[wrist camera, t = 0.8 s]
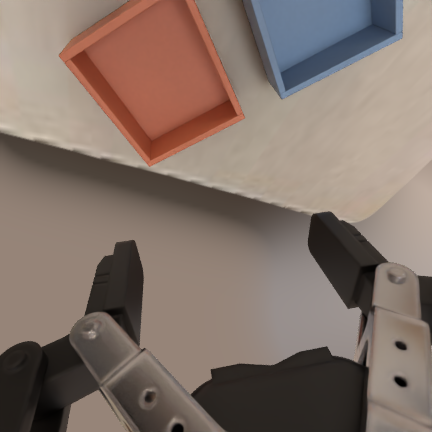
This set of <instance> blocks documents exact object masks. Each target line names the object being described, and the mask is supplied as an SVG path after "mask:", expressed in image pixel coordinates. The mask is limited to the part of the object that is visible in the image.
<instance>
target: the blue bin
mask: <svg viewBox="0 0 432 432" xmlns="http://www.w3.org/2000/svg"><path fill="white" fill-rule="evenodd" d="M242 2H243V5H244V8H245V11H246V14H247V17H248V20H249V23H250V26H251V29H252V32H253V35H254V38H255V41H256V44H257V47H258V50H259V53H260V56H261V59H262V62H263V65H264V68H265V71H266V74H267V77H268V80H269V82H270V84H271V85H272V87H273V88H274V89H275V91H276V92H277V94H278V95H279V96H280V98H281V99H284V98H286V97H288V96H290V95H292V94H293V93H295V92H297V91H299V90H301V89H303V88H305V87H307V86H309V85H311V84H313V83H315V82H317V81H319V80H321V79H323V78H325V77H327V76H329V75H331V74H333V73H335V72H337V71H339V70H341V69H343V68H345V67H347V66H349V65H351V64H353V63H354V62H356V61H358V60H360V59H362V58H364V57H366V56H368V55H370V54H372V53H374V52H376V51H378V50H380V49H382V48H384V47H386V46H388V45H390V44H392V43H394V42H396V41H398V40H400V39H402V34H403V32H402V31H403V0H242Z"/></svg>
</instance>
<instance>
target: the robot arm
mask: <svg viewBox="0 0 432 432" xmlns="http://www.w3.org/2000/svg"><path fill="white" fill-rule="evenodd" d="M308 247H309V250H310V253H311V254H312V256H313V257H314V258H315V260H316V262H317V263H318V265H319V266H320V268H321V269H322V271H323V272H324V274H325V275H326V276H327V278H328V279H329V281H330V283H331V284H332V285H333V287H334V289H335V290H336V291H337V293H338V294H339V296H340V297H341V299H342V300H343V302H344V303H345V305H346V306H347V308H348V309H350V308H355V307H359V308H360V309H361V311H362V312H361V315H360V320H359V327H358V335H357V342H356V349H355V355H354V360H353V361H352V360H350V359H346V358H343V357H338V356H332V355H331V353H330V351H329V349H328V347H322V348H317V349H312V350H306V351H301V352H299V353H296V354H295V355H292V356H291V357H289V358H287V359H285V360H283V361H281V362H279V363H277V364H275V365H271V366H270V365H254V364H236V365H231V366H226V367H221V368H216V369H211V374H212V379H211V380H209V381H207V382H205V383H204V384H202V385H201V386H199V387H198V388H197V389H196V390H195V391H194V392H193V393H192V394H191V395H190V394H189V393H188V392H187V391H186V390H185V389H184V388H183V387H182V385H180V384H179V382H178V381H177V380H176V379H175V378H174V377H173V376H172V375H171V374H170V373H169V372H168V371H167V369H166V368H165V367H164V366H163V365H162V364H161V363H160V362H159V361H158V360H157V359H156V358H155V357H154V356H153V355H152V354H151V352H149V351H148V350H147V349H145V348H144V349H141V348H140V347H139V345H140V328H141V312H142V297H143V296H142V295H143V281H144V280H143V279H144V278H143V268H142V264H141V261H140V257H139V253H138V250H137V246H136V243H135V241H134V240H130V241H124V242H117V243H116V244H115V249H114V254H113V255H109V256H105V257H104V258H103V259H102V260H101V262H100V263H99V264H98V266H97V269H96V273H95V277H94V281H93V285H92V289H91V293H90V297H89V300H88V304H87V308H86V312H85V315H84V317H82V318H81V319H80V320H78V321H77V323H76V324H75V325H74V326H73V328H72V329H71V331H70V334H68V335H67V336H65V337H63V338H61V339H59V340H57V341H55V342H52V343H50V344H48V345H46V346H43V347H40V345H39V344H38V343H36V342H33V341H27V342H22V343H19V344H16V345H14V346H12V347H11V348H9V349H8V350H6V351H5V352H4V353H3V354H1V355H0V432H66V429H67V424H68V418H69V413H70V407H71V404H72V403H73V402H76V401H78V400H79V399H81V398H83V397H85V396H87V395H89V394H91V393H92V392H94V391H96V390H99V392H100V393H101V394H102V396H103V398H104V399H105V400H106V402H107V403H108V405H109V406H110V407H111V409H112V411H113V412H114V413H115V415H116V417H117V418H118V419H119V421H120V422H121V424H122V425H123V427H124V428H125V430H126V431H127V432H432V352H431V345H432V277H428V276H417V275H416V274H415V273H414V272H413V271H412V270H411V269H409V268H407V267H405V266H403V265H400V264H397V263H391V262H388V261H387V260H386V259H385V258H384V257H383V256H382V255H381V254H380V253H379V252H378V251H377V250H376V249H375V248H374V247H373V246H372V245H371V244H370V243H369V242H368V241H367V240H366V238H365V237H364V236H362V235H361V233H360V232H359V231H357V229H356V228H355V227H354V226H352V225H350V224H349V223H347V222H345V221H343V220H342V221H339V220H338V218H337V217H336V216H335V215H334V214H333V213H332V212H330V211H329V212H322V213H315V214H313V215H312V217H311V224H310V230H309V237H308Z"/></svg>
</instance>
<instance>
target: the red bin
mask: <svg viewBox="0 0 432 432" xmlns="http://www.w3.org/2000/svg"><path fill="white" fill-rule="evenodd" d="M59 57H60V58H61V59H62V60H63V62H65V64H66V65H67V67H68V68H69V69H70V70H71V71H72V73H73V74H74V75H75V76H76V78H77V79H78V80H79V81H80V83H81V84H82V85H83V86H84V87H85V89H86V90H87V91H88V92H89V94H90V95H91V96H92V97H93V98H94V100H95V101H96V102H97V103H98V105H99V106H100V107H101V108H102V109H103V111H104V112H105V113H106V114H107V116H108V117H109V118H110V119H111V120H112V122H113V123H114V124H115V125H116V127H117V128H118V129H119V130H120V131H121V133H122V134H123V135H124V136H125V138H126V139H127V140H128V141H129V143H130V144H131V145H132V146H133V147H134V149H135V150H136V151H137V152H138V154H139V155H140V156H141V157H142V158H143V160H144V161H145V162H146V163H147V165H148V166H149V167H150V166H152V165H154V164H156V163H158V162H160V161H162V160H164V159H166V158H168V157H170V156H172V155H174V154H176V153H177V152H179V151H181V150H183V149H185V148H187V147H189V146H191V145H193V144H195V143H197V142H199V141H201V140H203V139H205V138H207V137H209V136H211V135H213V134H215V133H217V132H219V131H221V130H223V129H225V128H227V127H229V126H231V125H233V124H235V123H237V122H239V121H240V120H242V119H244V118H245V117H244V114H243V112H242V110H241V107H240V105H239V103H238V100H237V98H236V96H235V93H234V91H233V89H232V86H231V84H230V82H229V80H228V77H227V75H226V73H225V70H224V68H223V66H222V63H221V61H220V59H219V56H218V54H217V52H216V49H215V47H214V45H213V42H212V40H211V38H210V35H209V33H208V31H207V29H206V26H205V24H204V22H203V19H202V17H201V15H200V12H199V10H198V8H197V5H196V3H195V1H194V0H130V1H129V2H127V3H126V4H124V5H123V6H121V7H120V8H118V9H117V10H115V11H114V12H112V13H111V14H109V15H108V16H106V17H105V18H103V19H102V20H100V21H99V22H97V23H96V24H94V25H93V26H91V27H90V28H88V29H87V30H85V31H84V32H82V33H81V34H79V35H78V36H76V37H75V38H73V39H72V40H71V41H70V42H69V43H68V45H67V46H66V47H65V48H64V49H63V51H62V52H61V53H60V54H59Z"/></svg>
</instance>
